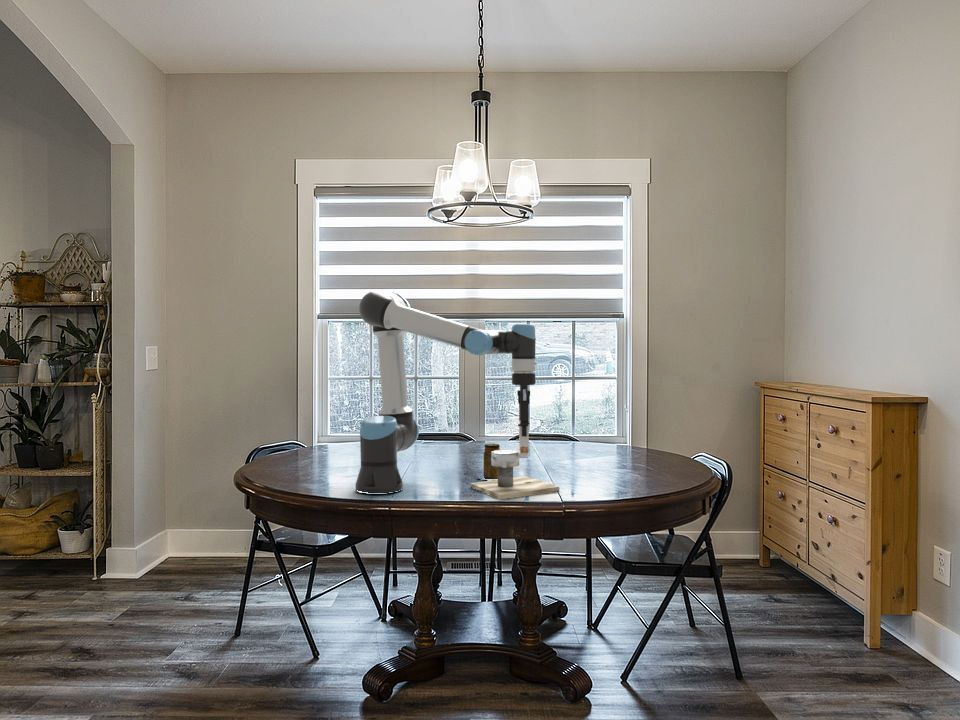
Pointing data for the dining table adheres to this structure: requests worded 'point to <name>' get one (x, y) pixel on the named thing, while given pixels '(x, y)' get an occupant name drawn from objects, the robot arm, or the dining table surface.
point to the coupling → (509, 455)
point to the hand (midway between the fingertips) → (523, 445)
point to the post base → (513, 485)
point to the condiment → (490, 470)
